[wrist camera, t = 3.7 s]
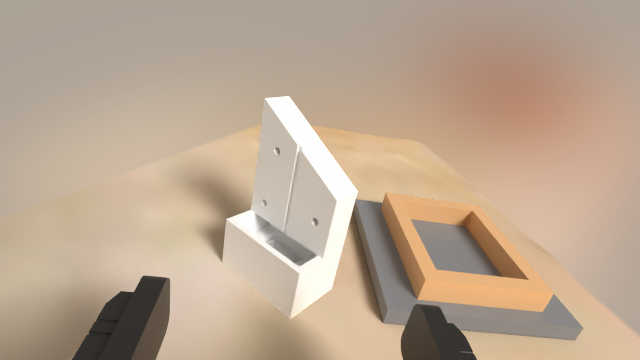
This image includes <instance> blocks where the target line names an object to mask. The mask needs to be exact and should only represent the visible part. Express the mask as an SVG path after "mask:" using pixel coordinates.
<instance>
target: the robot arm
mask: <svg viewBox="0 0 640 360" xmlns="http://www.w3.org/2000/svg"><path fill="white" fill-rule="evenodd" d="M169 313H170V279H169V278H164V277H154V276H143V277H142V278H141V280H140V282H139V284H138V286H137V287H136V289H135V291H134V292H124V291H121V292H120V293H118V294H117V295H116V296H115V297H113V298H112V299H111V300H110V301H109V302H107V303H106V304H105V306H104V308H103V309H102V311H101V313H100V314H99V316H98V318H97V321H96V322H95V323H94V324H93V326H92V328H91V329H90V331H89V334H88V335H87V336H86V338H85V339H84V341H83V343H82V344H81V346H80V347H79V349H78V351H77V352H76V354H75V356H74V357H73V359H72V360H156V357H157V355H158V352H159V349H160V347H161V344H162V341H163V339H164V336H165V333H166V330H167V326H168V321H169ZM401 352H402V357H403V360H477V359H476V357H475V355H474V354H473V351H472V349H471V347H470V345H469V343H468V341H467V339H466V337H465V336H464V335H463V333H462V332H461V331H460V330H459V329H458V328H457V327H456V326H455V325H454V323H447V320H446V318H445V316H444V314H443V312H442V310H441V308H440V307H439V306H435V305H425V304H415V305H414V307H413V309H412V312H411V314H410V316H409V319H408V321H407V324H406V326H405V329H404V331H403V334H402V338H401Z"/></svg>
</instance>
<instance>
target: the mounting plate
mask: <svg viewBox="0 0 640 360" xmlns="http://www.w3.org/2000/svg"><path fill="white" fill-rule="evenodd" d="M353 213H354V217H355V221H356V224H357V228H358V232H359V236H360V239H361V243H362V247H363V250H364V254H365V258H366V261H367V265H368V269H369V272H370V276H371V280H372V284H373V287H374V291H375V295H376V298H377V302H378V306H379V309H380V313H381V317H382V320H383V323H389V324H400V325H406V324H407V321H408V319H409V316H410V314H411V312H412V309H413V307H414V305H415V304H425V305H435V306H439V307H440V308H441V310H442V312H443V314H444V316H445V318H446V320H447V323H454V325H455V326H456V327H457V328H458V329H459V330H468V331H479V332H490V333H501V334H512V335H524V336H535V337H546V338H557V339H568V340H576V338H577V337H578V335H579V334H580V332H581V331H582V329H583V327H582V326H581V325H580V324H579V323H578V321H577V320H576V319H575V318H574V317H573V316H572V314H571V313H570V312H569V311H568V310H567V309H566V307H565V306H564V305H563V304H562V303H561V302H560V300H559V299H558V298H557V297H556V296H555V295H554V293H553V292H552V290H551V289H550V288H549V287H548V286H547V285H546V283H545V282H544V281H543V280H542V279H541V278H540V277H539V275H538V274H537V273H536V272H535V271H534V270H533V268H532V267H531V266H530V265H529V264H528V263H527V261H526V260H525V259H524V258H523V257H522V256H521V254H520V253H519V252H518V251H517V250H516V249H515V248H514V246H513V245H512V244H511V243H510V242H509V241H508V239H507V238H506V237H505V236H504V235H503V234H502V232H501V231H500V230H499V229H498V228H497V227H496V225H495V224H494V223H493V222H492V221H491V220H490V219H489V217H488V216H487V215H486V214H485V213H484V212H483V210H482V209H481V208H480V207H479V206H476V205H469V204H462V203H455V202H448V201H441V200H434V199H426V198H419V197H412V196H405V195H398V194H391V193H386V194H385V197H384V200H383V203H378V202H371V201H363V200H355V203H354V207H353Z"/></svg>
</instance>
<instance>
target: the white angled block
mask: <svg viewBox="0 0 640 360" xmlns="http://www.w3.org/2000/svg"><path fill="white" fill-rule="evenodd" d="M357 192H358V191H357V189H356V188H355V187H354V185H353V184H352V183H351V181H350V180H349V178H348V177H347V176H346V174H345V173H344V171H343V170H342V169H341V167H340V166H339V165H338V163H337V162H336V160H335V159H334V158H333V156H332V155H331V154H330V152H329V151H328V149H327V148H326V147H325V145H324V144H323V143H322V141H321V140H320V138H319V137H318V136H317V134H316V133H315V131H314V130H313V129H312V127H311V126H310V125H309V123H308V122H307V120H306V119H305V118H304V116H303V115H302V114H301V112H300V111H299V109H298V108H297V107H296V105H295V104H294V102H293V101H292V100H291V99H290V97H289V96H286V97H276V98H265V103H264V110H263V118H262V126H261V134H260V141H259V149H258V157H257V165H256V173H255V181H254V189H253V197H252V204H251V210H249V211H246V212H244V213H241V214H238V215H236V216H233V217H231V218H228V219H226V227H225V238H224V248H223V259H222V263H224V264H225V265H226V266H227V267H228V268H230V269H231V270H232V271H233V272H234V273H235V274H237V275H238V276H239V277H240V278H241V279H243V280H244V281H245V282H246V283H247V284H249V285H250V286H251V287H252V288H253V289H254V290H256V291H257V292H258V293H259V294H260V295H262V296H263V297H264V298H265V299H266V300H267V301H269V302H270V303H271V304H272V305H273V306H275V307H276V308H277V309H278V310H279V311H281V312H282V313H283V314H284V315H285V316H286V317H288V318H289V319H291V318H293V317H294V316H295V315H297V314H298V313H299V312H301V311H302V310H303V309H305V308H306V307H307V306H309V305H310V304H312V303H313V302H314V301H316V300H317V299H318V298H320V297H321V296H322V295H324V294H325V293H326V292H328V291H329V290H330V289H332V286H333V282H334V278H335V275H336V271H337V267H338V263H339V260H340V256H341V252H342V248H343V245H344V241H345V237H346V233H347V230H348V226H349V222H350V218H351V215H352V211H353V207H354V203H355V200H356V196H357Z"/></svg>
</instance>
